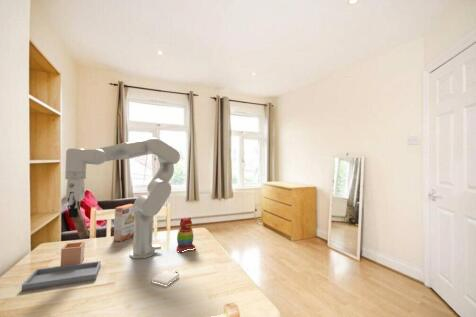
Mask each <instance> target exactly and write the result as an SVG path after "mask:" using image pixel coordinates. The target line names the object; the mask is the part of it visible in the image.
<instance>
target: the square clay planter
mask: <svg viewBox="0 0 476 317" xmlns="http://www.w3.org/2000/svg"><path fill="white" fill-rule="evenodd" d="M85 243H86V242H85V241H77V242H66V243H65V244H64V245H63V247H62V248H61V250H60V251H61V252H60V266H66V265H73V264H81V263H84V261H85Z"/></svg>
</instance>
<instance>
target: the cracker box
mask: <svg viewBox="0 0 476 317" xmlns="http://www.w3.org/2000/svg"><path fill="white" fill-rule="evenodd" d="M114 211H115V212H114V224H113V225H114V226H113V241H114V242H121V243H122V242H123V241H125V240H127V239H129V238H131V236H132V237H134V236H133V235H134V203H128V204H124V205H121V206H120V205H119V206H117V207H115V209H114Z"/></svg>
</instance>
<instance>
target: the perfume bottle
mask: <svg viewBox="0 0 476 317" xmlns="http://www.w3.org/2000/svg"><path fill="white" fill-rule="evenodd" d="M176 271H178V272H179V270H178V269H176V268H175V269H174V270H173V271H168V270H166V269H165V270H162V271H161V272H160V273H159V274H157V275H156V276H154V277H152V278H151V281H153V282H157V283H160V284H163V285H168V284H169V283H170V282H172V281H173V280H174V279H175V278H177V277H178V276H179V277H180V273H178V272H177V273H175V272H176ZM177 279H178V278H177ZM172 283H173V282H172Z"/></svg>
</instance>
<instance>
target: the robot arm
mask: <svg viewBox="0 0 476 317" xmlns="http://www.w3.org/2000/svg"><path fill="white" fill-rule="evenodd" d="M65 152H66V154H65V172H64V173H65V175H64V176H65V180H67V182H66V191H65V192H66V193H65V199H66V202H68V205H69V210H68V218H71V219H72V218H73V217H77V216H78V208H77V204H78V207H79V209H80V210H81V201H83V200H84V199H85V197H86V196H85V194H86V192H85V189H86V188H85V186H86V184H85V179H87V178H86V177H87V165H94V166H98V165H99V166H100V165H102V164H104V163H106V162H110V161H117V160H129V159H134V158H138V157H144V156H148V155H155V156H157V159H158V163H159V166H158V167H159V168H158V170H157V172H156V173H155V175H154V176H153V178H152V179H151V181H150V182H149V183H148V185H147V192H148V194H149V195H146V194H145V195H143V194H142V195H140V196H137V198H136V199H135V200H134V201H133V202H134V203H133V204H134V236H133V243H132V244H133V245H132V250H131V251H130V252H129V257H131V258H133V259H145V258H146V259H147V258H150V257H152V256H153V255H155V253H156V250H162V245H159V244H153V234H154V232H153V231H154V216H157V215H158V213H159V212H160V211H161V210H162V208H163V207H164V206H165V203H166V201H167V200H168V198H169V197H170V195H171V192H172V184H170V181H171V179H172V177H173V175H174V172H175V166H174V165H176V164H178V163H179V161H180V160H181V155H180V152H179V151H178V150H177V149H176V148H174V147H172V146H171V145H169V144H168V143H166V142H164V141H163V140H162V139H159V138H156V137H152V138H144V139H139V140H134V141H133V140H132V141H126V142H122V143H121V142H120V143H117V144H115V145H110V146H104V147H98V148H91V149H89V148H88V149H86V148H77V147H76V148H73V147H72V148H71V147H69V148H68V149H66V151H65Z"/></svg>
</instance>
